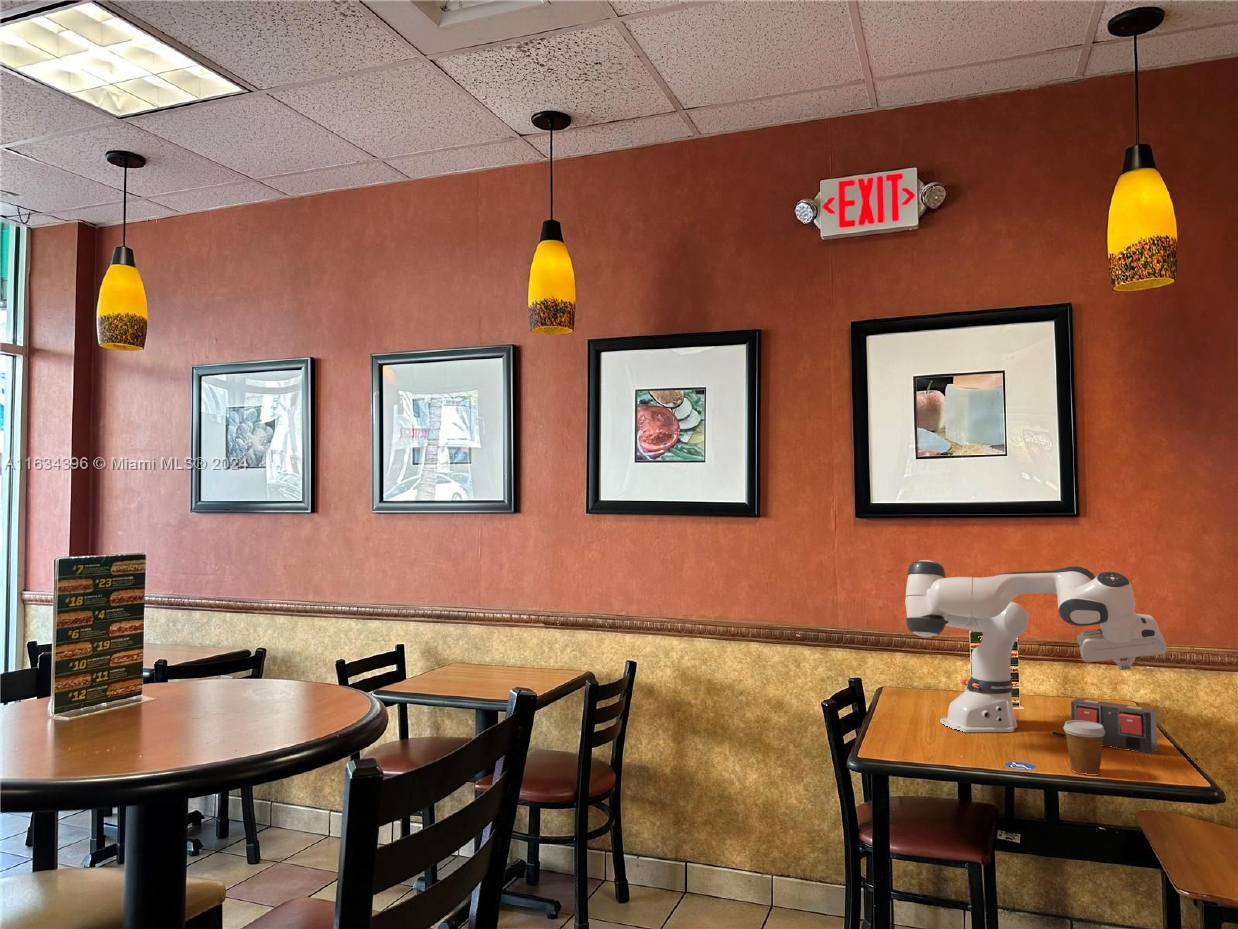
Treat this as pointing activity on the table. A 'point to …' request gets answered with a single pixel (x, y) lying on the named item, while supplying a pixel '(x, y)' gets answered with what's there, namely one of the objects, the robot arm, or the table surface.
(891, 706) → the table surface
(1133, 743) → the double rocker switch box
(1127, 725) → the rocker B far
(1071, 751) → the disposable coffee cup
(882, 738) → the table surface
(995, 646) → the robot arm
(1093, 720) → the rocker
